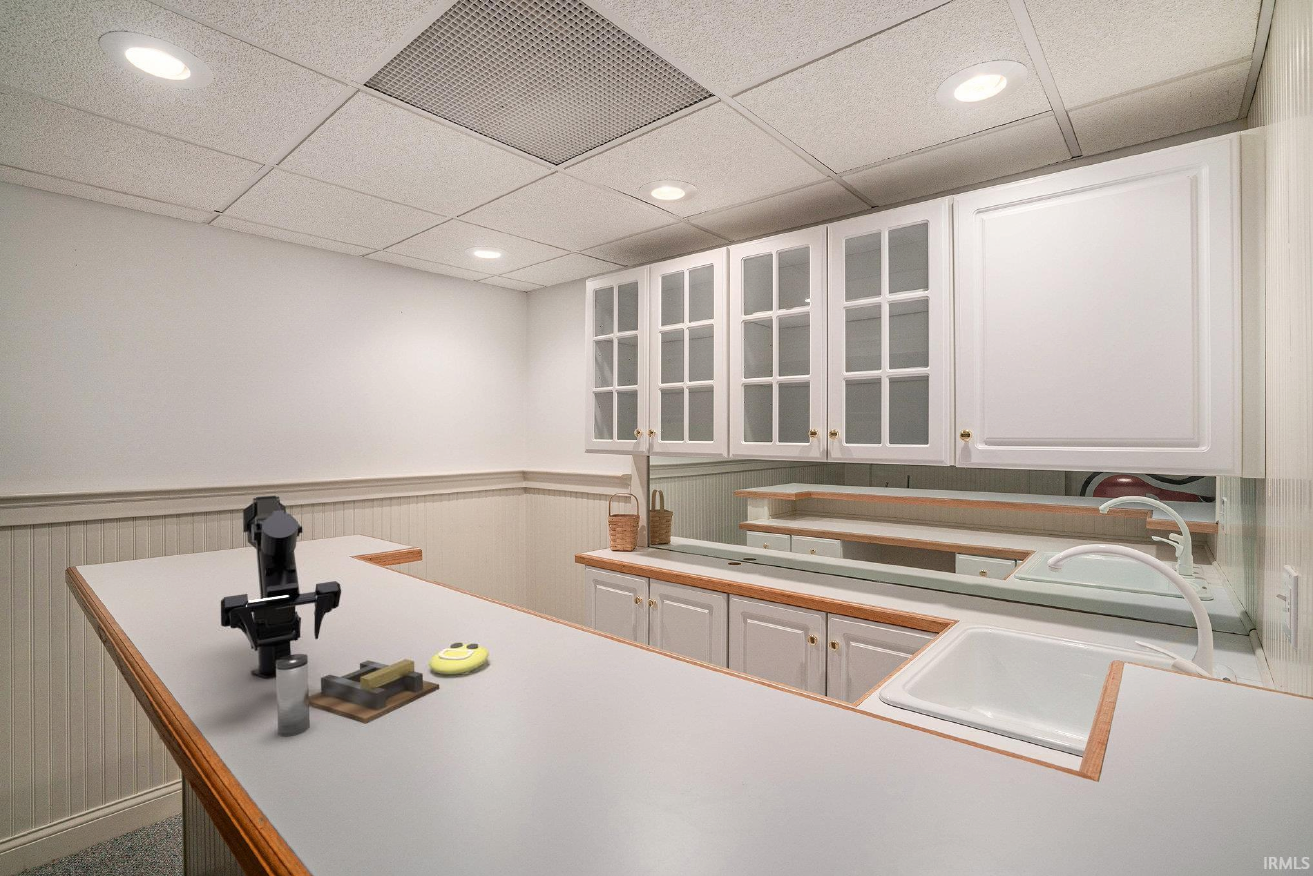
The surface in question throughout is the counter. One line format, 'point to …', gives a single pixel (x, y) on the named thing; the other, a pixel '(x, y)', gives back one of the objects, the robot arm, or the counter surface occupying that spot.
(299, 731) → the metal canister
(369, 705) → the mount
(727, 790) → the counter surface
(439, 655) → the emoji
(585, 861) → the counter surface
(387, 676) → the bar
